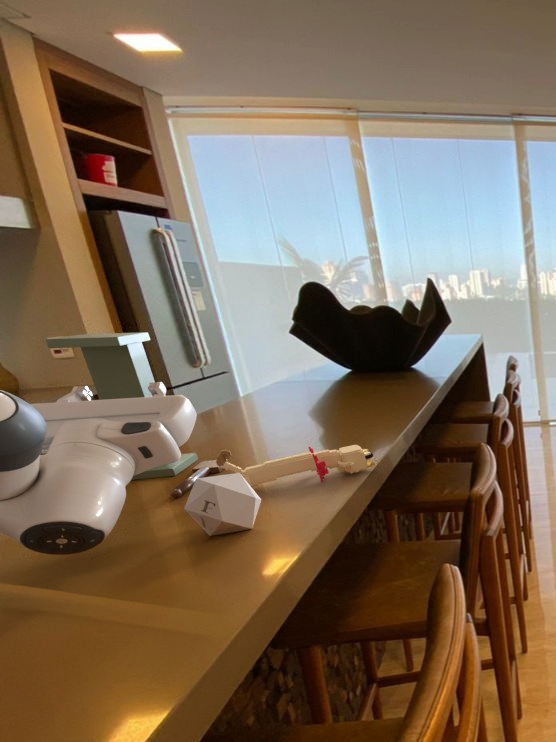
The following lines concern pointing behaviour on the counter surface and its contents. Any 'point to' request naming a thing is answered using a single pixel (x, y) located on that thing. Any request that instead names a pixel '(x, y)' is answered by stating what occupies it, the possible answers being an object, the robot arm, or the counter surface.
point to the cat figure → (301, 464)
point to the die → (223, 504)
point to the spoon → (196, 476)
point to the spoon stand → (121, 377)
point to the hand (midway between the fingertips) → (121, 387)
